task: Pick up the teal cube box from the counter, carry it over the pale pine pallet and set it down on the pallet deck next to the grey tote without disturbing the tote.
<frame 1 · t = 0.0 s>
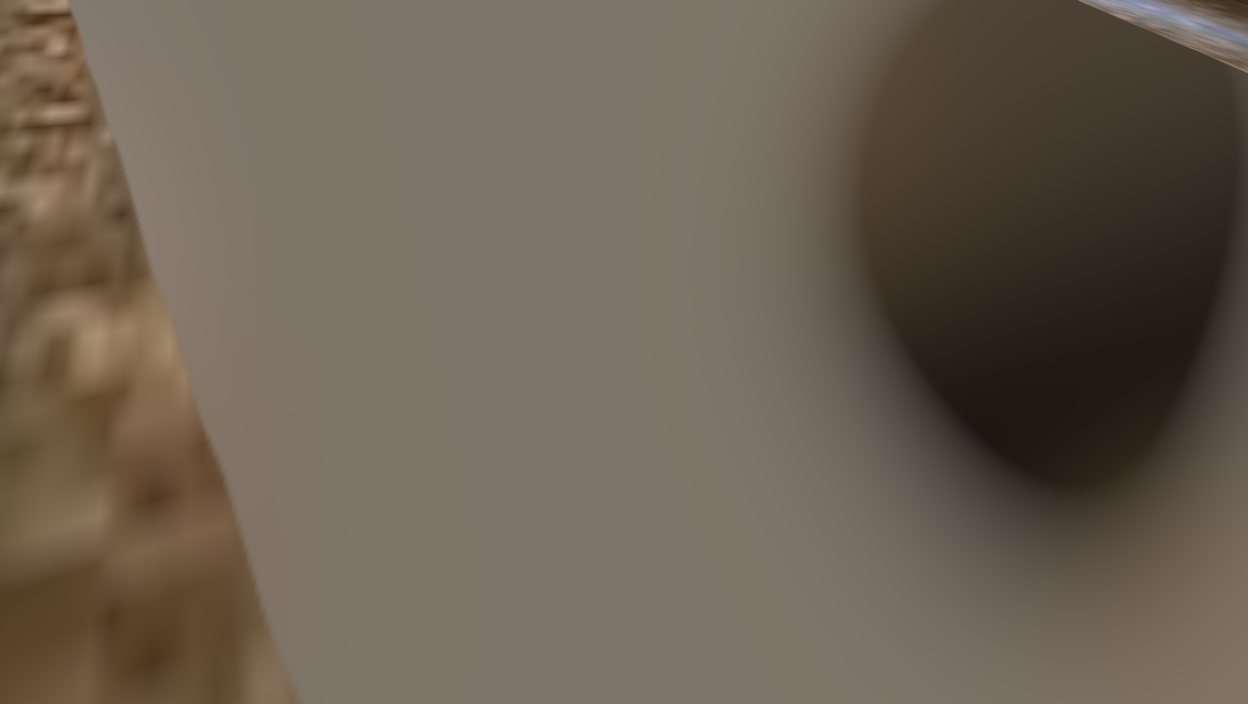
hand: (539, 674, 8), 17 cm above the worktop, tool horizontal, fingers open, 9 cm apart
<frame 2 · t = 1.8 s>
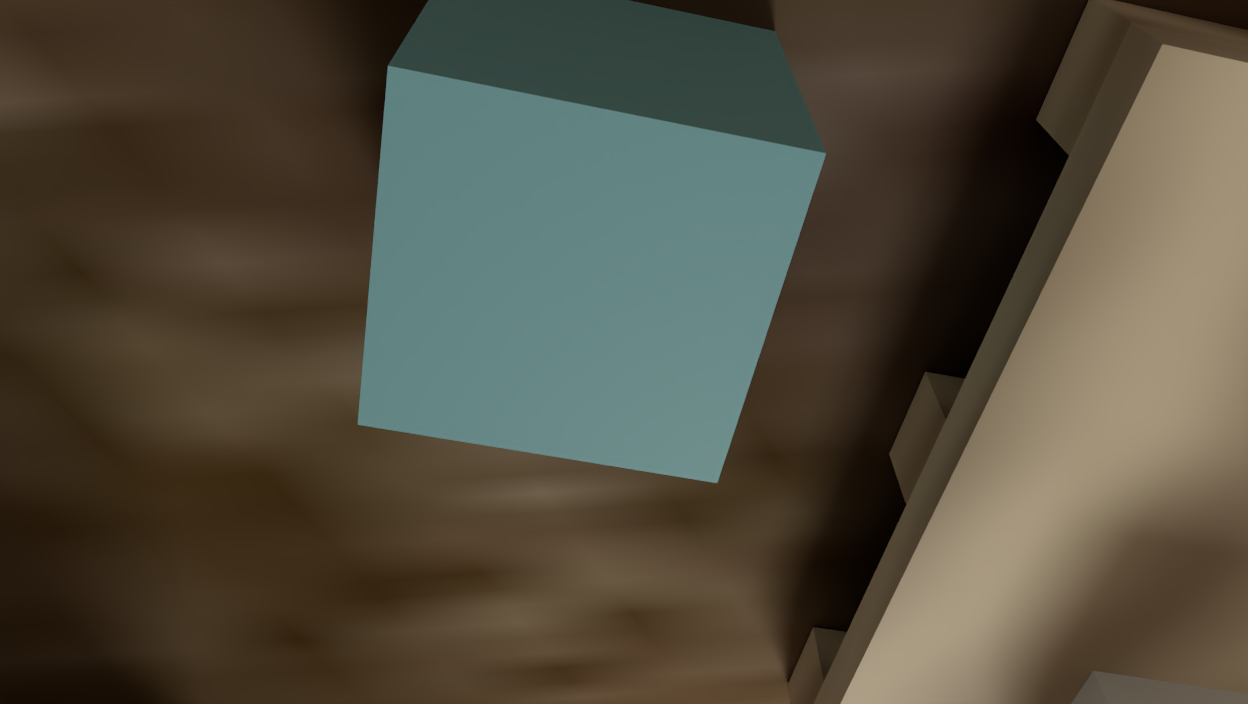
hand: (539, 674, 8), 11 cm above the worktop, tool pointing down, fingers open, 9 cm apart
pallet dock: (1124, 451, 20), on the worktop
teal cube box: (586, 148, 17), on the worktop
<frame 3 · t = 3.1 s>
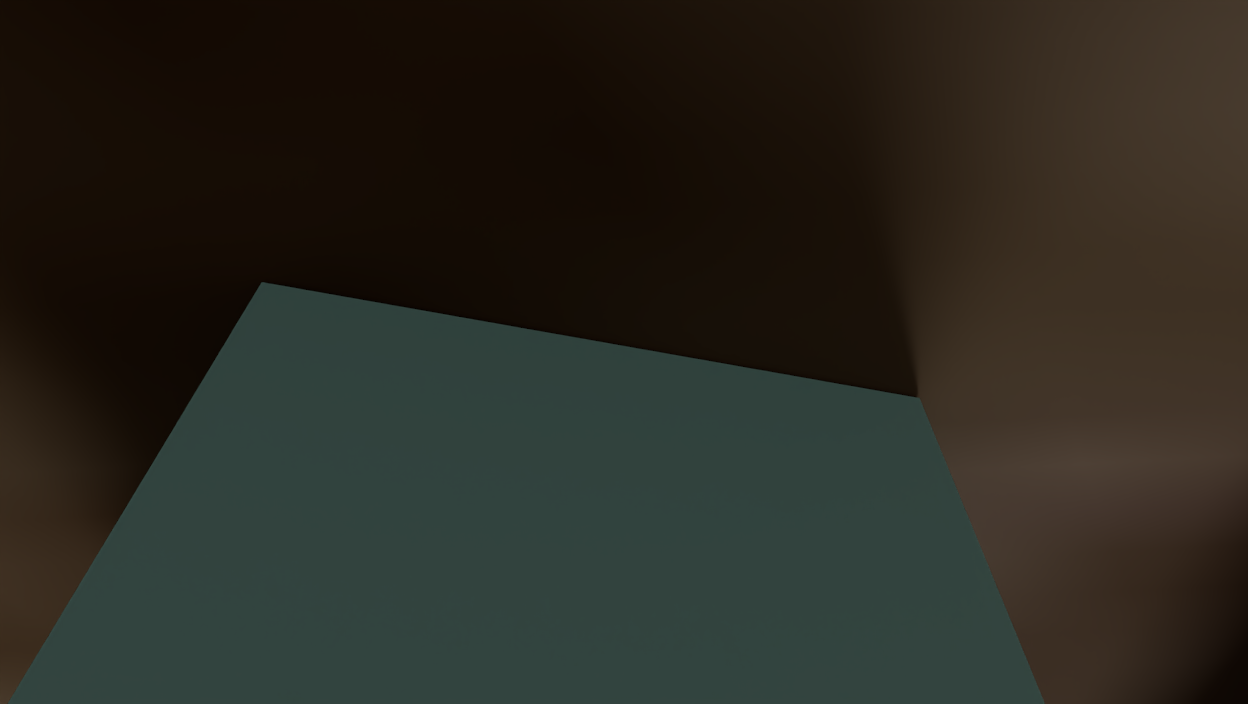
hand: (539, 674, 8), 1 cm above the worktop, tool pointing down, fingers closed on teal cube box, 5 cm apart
teal cube box: (546, 578, 9), on the worktop, touching gripper
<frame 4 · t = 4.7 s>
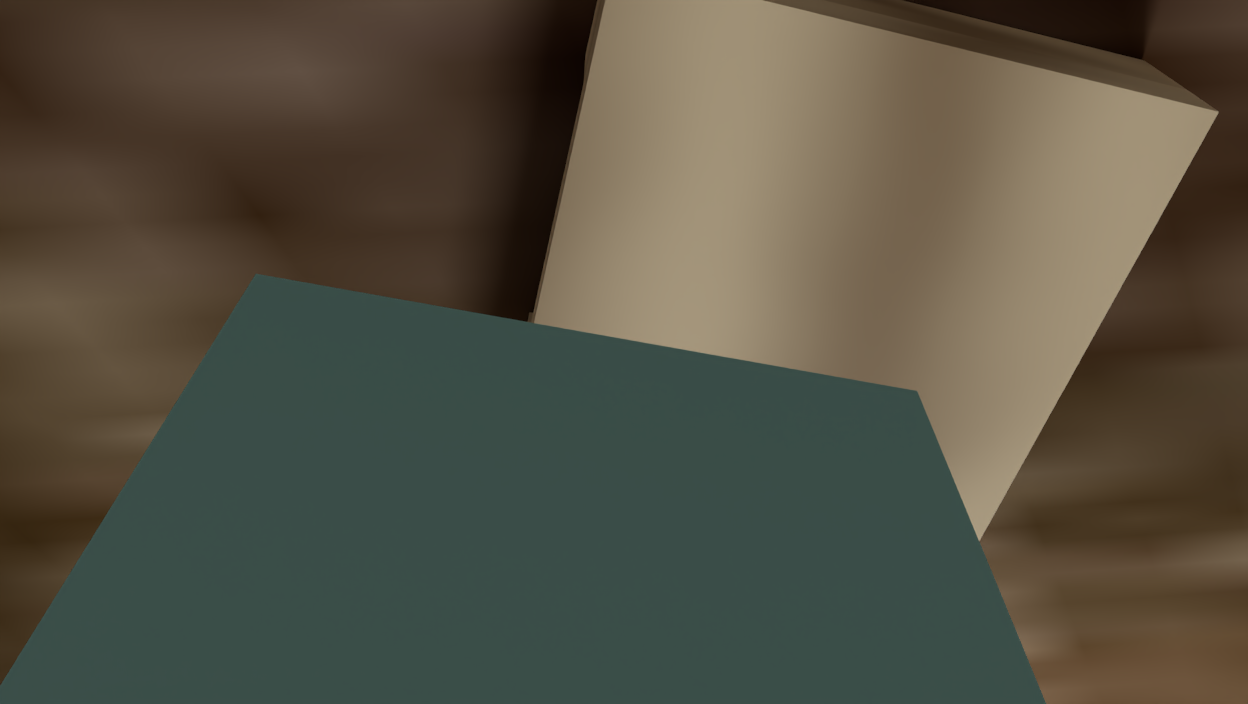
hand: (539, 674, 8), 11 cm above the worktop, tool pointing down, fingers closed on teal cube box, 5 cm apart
pallet dock: (742, 398, 21), on the worktop
teal cube box: (543, 573, 9), point 10 cm above the worktop, touching gripper
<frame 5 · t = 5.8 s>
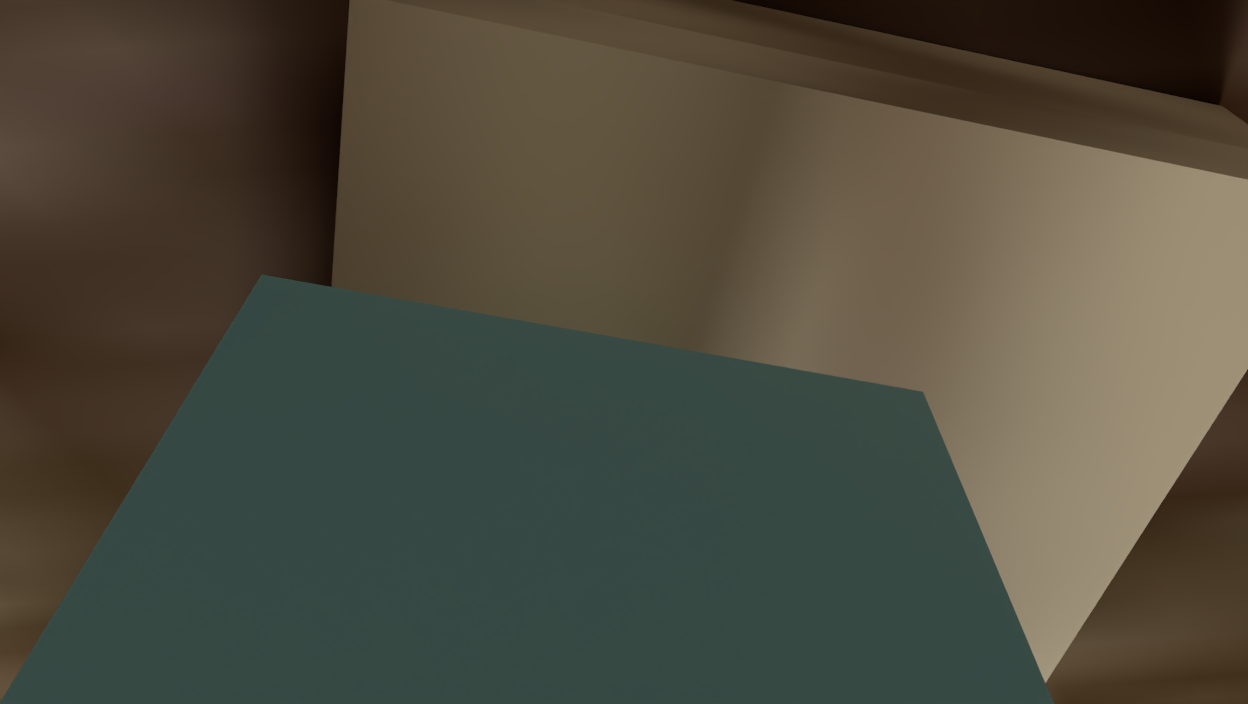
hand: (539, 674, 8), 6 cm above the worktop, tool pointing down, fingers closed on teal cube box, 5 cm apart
pallet dock: (662, 561, 15), on the worktop
teal cube box: (548, 573, 9), point 5 cm above the worktop, touching gripper
when the fingers open (5 cm above the worktop, at t = 6.3 s): teal cube box drops 1 cm, resting on pallet dock.
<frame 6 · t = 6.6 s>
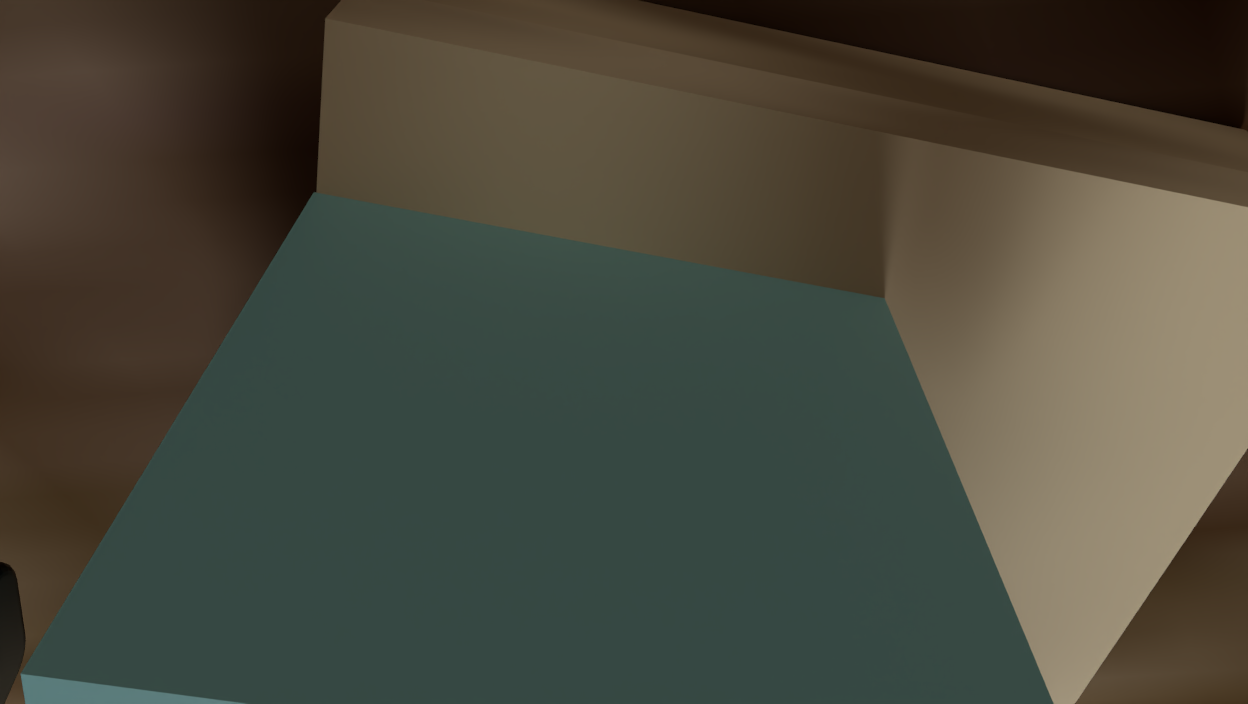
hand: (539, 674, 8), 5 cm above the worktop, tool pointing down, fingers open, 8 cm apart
pallet dock: (660, 595, 15), on the worktop
teal cube box: (558, 468, 10), point 2 cm above the worktop, touching pallet dock
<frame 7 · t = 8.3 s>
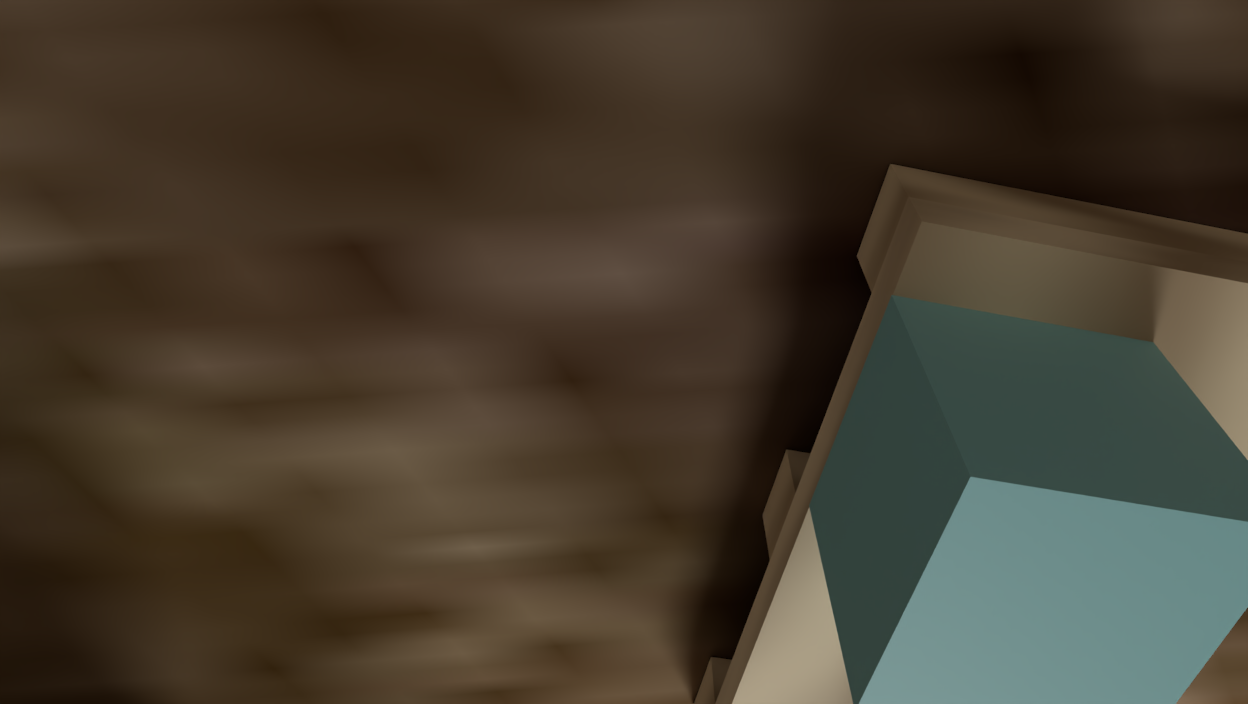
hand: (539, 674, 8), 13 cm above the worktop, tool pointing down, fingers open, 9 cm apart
pallet dock: (958, 512, 24), on the worktop
teal cube box: (972, 428, 20), point 2 cm above the worktop, touching pallet dock
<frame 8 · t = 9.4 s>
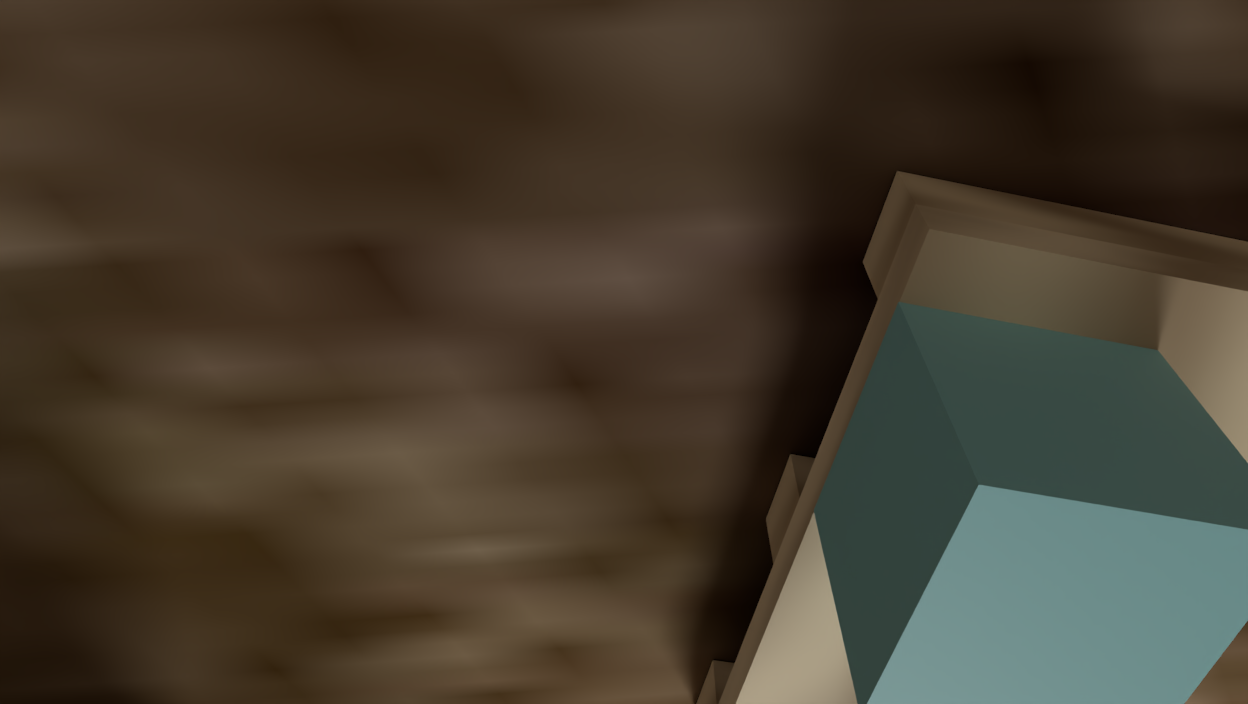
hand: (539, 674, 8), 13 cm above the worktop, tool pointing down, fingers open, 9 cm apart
pallet dock: (961, 517, 25), on the worktop
teal cube box: (976, 434, 20), point 2 cm above the worktop, touching pallet dock
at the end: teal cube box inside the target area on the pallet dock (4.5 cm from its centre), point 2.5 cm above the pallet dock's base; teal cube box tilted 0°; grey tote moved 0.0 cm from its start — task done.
